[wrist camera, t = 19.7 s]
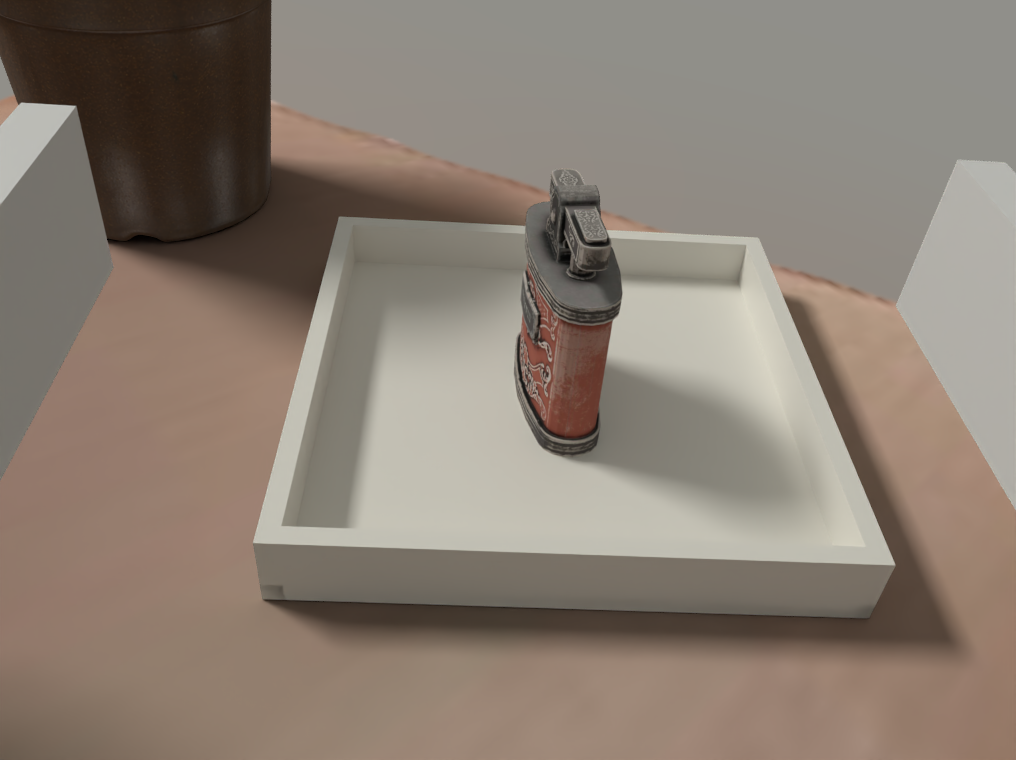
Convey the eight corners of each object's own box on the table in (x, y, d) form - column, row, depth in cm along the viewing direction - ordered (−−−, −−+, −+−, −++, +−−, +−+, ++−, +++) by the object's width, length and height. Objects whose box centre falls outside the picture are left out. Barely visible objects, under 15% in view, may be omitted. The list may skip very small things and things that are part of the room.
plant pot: (364, 181, 58) (353, -106, 48) (168, 302, 47) (99, -38, 37) (170, 113, 64) (124, -156, 54) (-45, 207, 53) (-156, -110, 42)
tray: (262, 599, 33) (252, 543, 31) (341, 265, 50) (339, 216, 48) (869, 618, 34) (895, 565, 32) (745, 285, 51) (758, 237, 49)
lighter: (503, 342, 45) (518, 146, 38) (572, 338, 45) (598, 145, 39) (532, 459, 38) (555, 250, 32) (612, 454, 39) (650, 247, 33)
